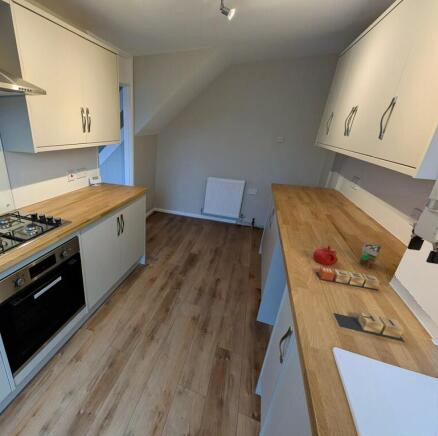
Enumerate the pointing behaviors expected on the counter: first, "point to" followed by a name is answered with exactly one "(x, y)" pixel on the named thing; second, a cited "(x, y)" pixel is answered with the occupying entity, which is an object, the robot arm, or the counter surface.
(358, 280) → the wooden letter cube
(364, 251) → the food container
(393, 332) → the tile
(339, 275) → the tile
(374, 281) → the light wood cube
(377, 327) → the tan wooden cube
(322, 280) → the word mat
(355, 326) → the word mat
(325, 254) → the pomegranate
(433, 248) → the robot arm
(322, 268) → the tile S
